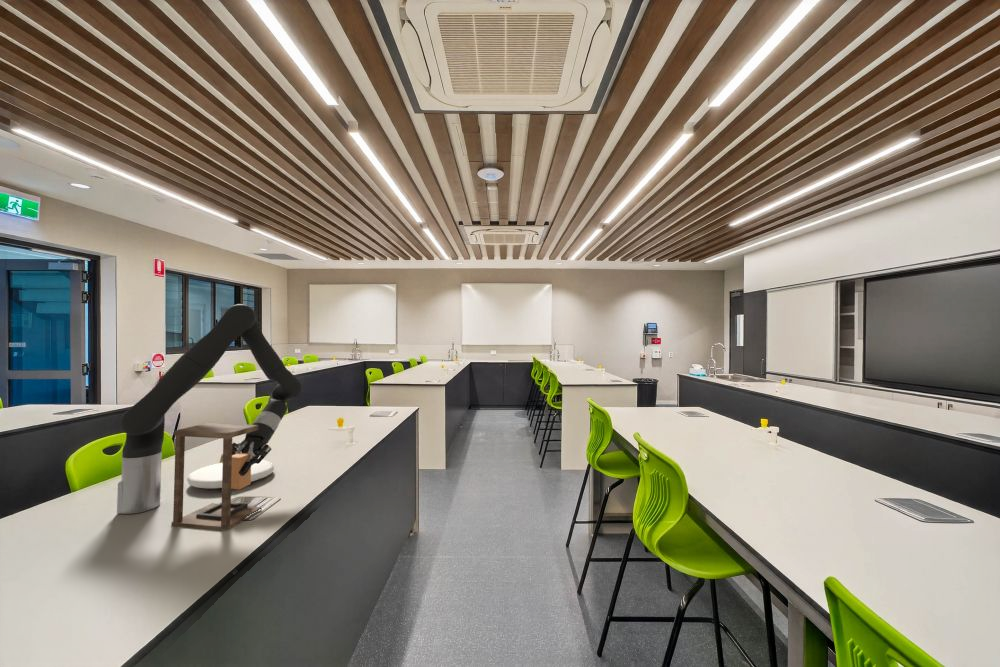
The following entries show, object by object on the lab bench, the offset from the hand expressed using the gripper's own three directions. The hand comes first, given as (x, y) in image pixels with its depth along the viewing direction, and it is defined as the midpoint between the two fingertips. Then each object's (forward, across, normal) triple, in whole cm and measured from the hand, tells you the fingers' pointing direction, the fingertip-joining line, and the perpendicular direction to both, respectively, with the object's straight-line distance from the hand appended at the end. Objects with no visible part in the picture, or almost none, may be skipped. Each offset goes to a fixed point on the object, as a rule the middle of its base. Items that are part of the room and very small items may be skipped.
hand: (234, 473), depth 120 cm
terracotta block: (+2, 0, +5) cm, 5 cm away
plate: (-8, -22, +24) cm, 34 cm away
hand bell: (-17, -38, +34) cm, 54 cm away
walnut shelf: (+12, 0, +4) cm, 13 cm away
